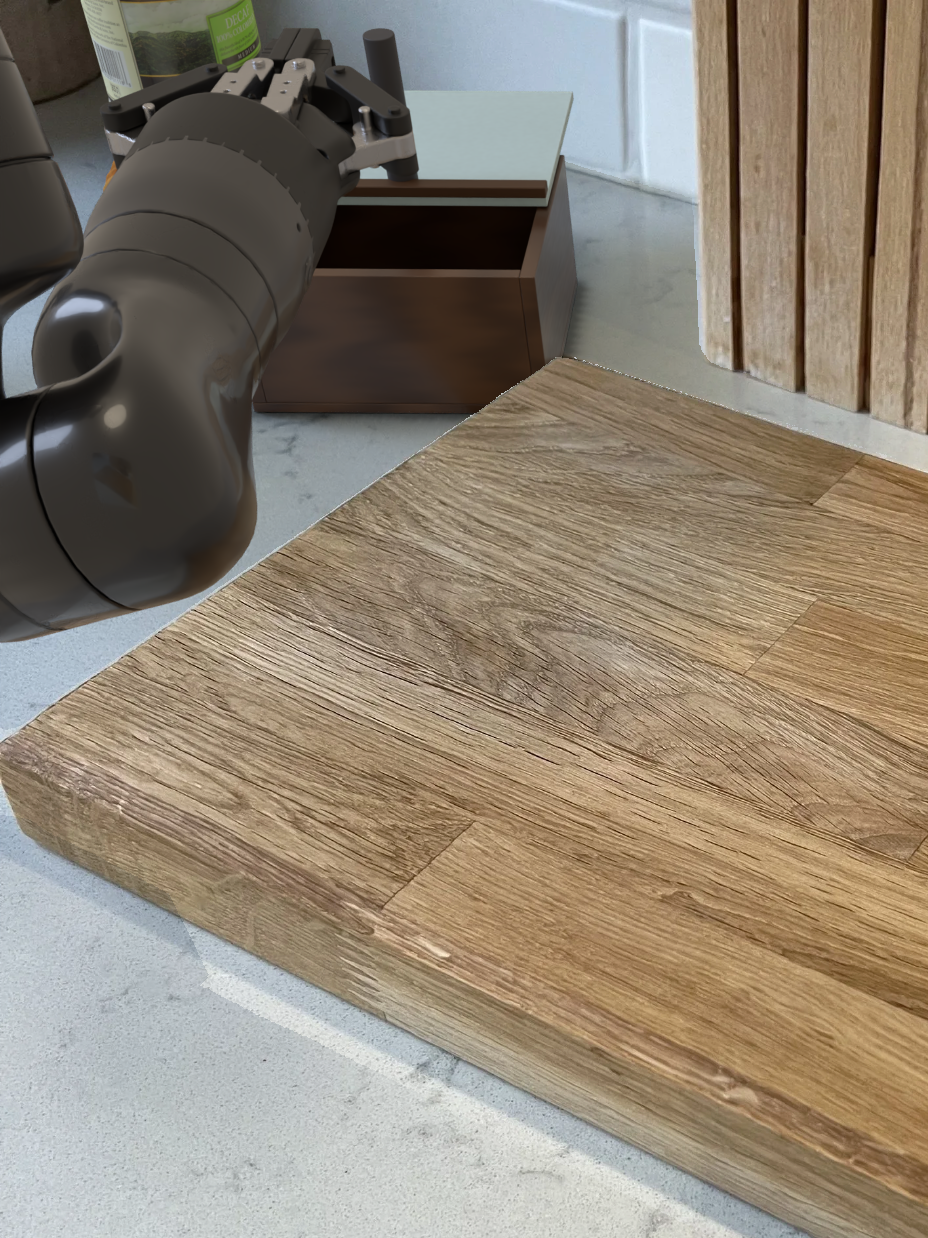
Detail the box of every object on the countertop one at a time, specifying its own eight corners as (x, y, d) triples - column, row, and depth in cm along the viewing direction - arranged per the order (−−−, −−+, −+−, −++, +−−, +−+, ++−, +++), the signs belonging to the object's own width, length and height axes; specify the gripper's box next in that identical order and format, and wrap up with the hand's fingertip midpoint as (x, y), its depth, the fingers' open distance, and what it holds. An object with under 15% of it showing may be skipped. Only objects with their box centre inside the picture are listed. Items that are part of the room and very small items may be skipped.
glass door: (255, 205, 93) (217, 44, 87) (309, 97, 103) (278, -55, 97) (547, 207, 93) (529, 45, 87) (573, 99, 103) (559, -53, 97)
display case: (254, 412, 94) (218, 275, 88) (309, 283, 104) (279, 152, 98) (551, 414, 94) (534, 277, 88) (577, 285, 104) (564, 154, 98)
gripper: (370, 145, 62) (446, -38, 74) (-5, 140, 62) (132, -43, 74) (404, 336, 67) (469, 135, 79) (59, 331, 67) (177, 131, 79)
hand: (306, 50), depth 76 cm, fingers closed
